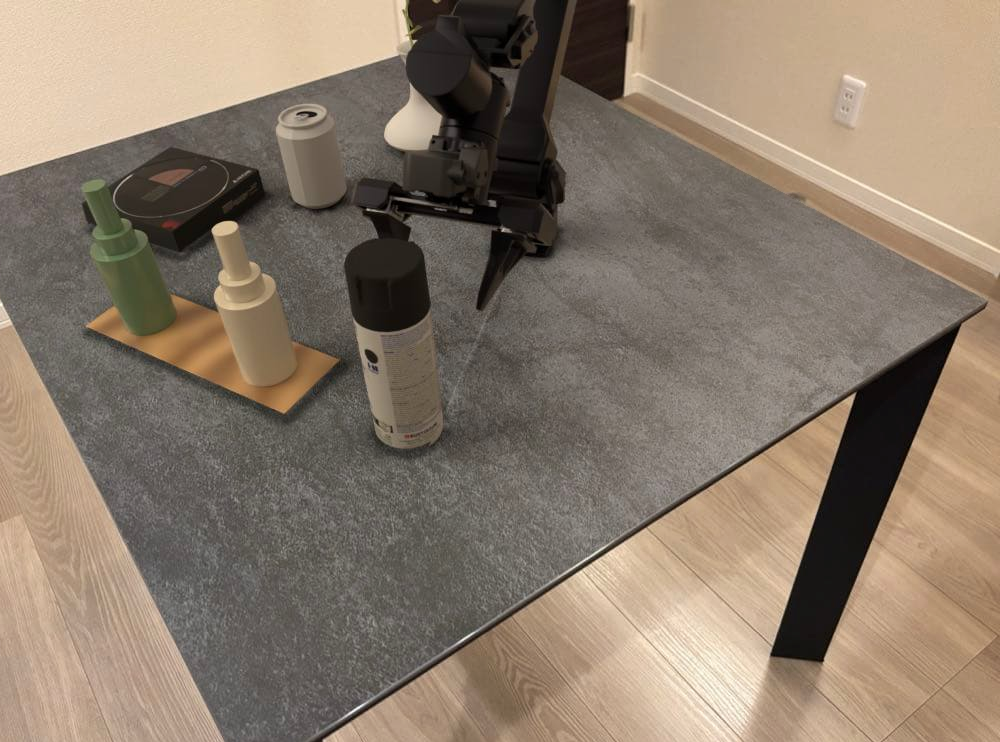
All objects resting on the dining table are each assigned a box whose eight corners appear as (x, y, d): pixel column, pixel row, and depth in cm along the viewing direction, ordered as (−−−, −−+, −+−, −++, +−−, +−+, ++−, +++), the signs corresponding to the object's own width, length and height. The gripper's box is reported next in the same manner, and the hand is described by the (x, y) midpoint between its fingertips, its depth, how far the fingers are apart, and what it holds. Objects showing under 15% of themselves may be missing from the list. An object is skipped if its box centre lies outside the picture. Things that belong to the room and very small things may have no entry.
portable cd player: (176, 171, 121) (167, 145, 118) (265, 195, 114) (258, 169, 111) (90, 228, 111) (78, 202, 108) (182, 258, 104) (172, 231, 102)
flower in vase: (462, 158, 117) (447, -32, 100) (382, 163, 118) (354, -25, 100) (463, 116, 127) (449, -65, 109) (389, 121, 127) (364, -58, 110)
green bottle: (113, 331, 93) (49, 198, 81) (142, 299, 97) (85, 167, 85) (159, 339, 91) (101, 204, 80) (187, 306, 95) (135, 172, 83)
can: (356, 186, 114) (341, 102, 106) (333, 215, 109) (315, 129, 101) (308, 180, 116) (289, 97, 108) (283, 208, 111) (261, 124, 103)
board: (341, 366, 87) (340, 359, 87) (286, 420, 82) (284, 413, 82) (147, 290, 100) (144, 283, 99) (88, 332, 95) (85, 325, 94)
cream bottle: (230, 382, 85) (179, 243, 74) (256, 345, 89) (212, 207, 78) (282, 390, 84) (238, 250, 72) (307, 352, 88) (269, 213, 76)
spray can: (388, 401, 83) (356, 230, 69) (453, 410, 82) (434, 237, 68) (366, 449, 79) (327, 277, 65) (434, 460, 77) (410, 286, 63)
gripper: (341, 95, 72) (305, 270, 73) (545, 117, 67) (504, 307, 67) (392, 136, 83) (360, 289, 84) (571, 159, 77) (535, 323, 78)
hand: (433, 301), depth 78 cm, fingers open, 9 cm apart
